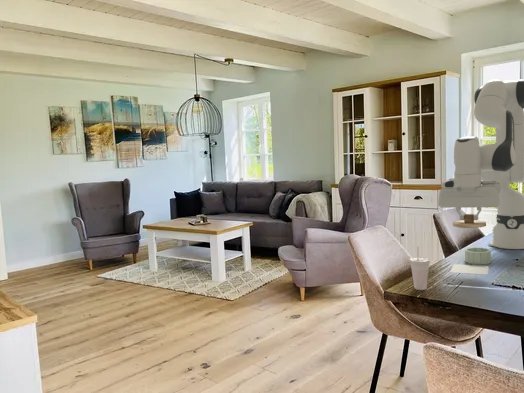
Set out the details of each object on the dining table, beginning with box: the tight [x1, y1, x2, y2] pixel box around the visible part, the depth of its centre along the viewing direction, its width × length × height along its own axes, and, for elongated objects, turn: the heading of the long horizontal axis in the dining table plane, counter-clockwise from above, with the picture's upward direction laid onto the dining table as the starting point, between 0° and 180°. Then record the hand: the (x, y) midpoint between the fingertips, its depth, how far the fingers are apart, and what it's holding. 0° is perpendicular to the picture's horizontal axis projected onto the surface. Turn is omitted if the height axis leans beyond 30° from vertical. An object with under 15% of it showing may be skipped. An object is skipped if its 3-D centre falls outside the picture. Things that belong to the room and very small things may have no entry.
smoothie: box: [409, 246, 431, 291], centre depth 146 cm, size 6×6×14 cm
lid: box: [452, 213, 487, 229], centre depth 162 cm, size 11×11×4 cm
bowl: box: [464, 246, 492, 265], centre depth 173 cm, size 9×9×5 cm
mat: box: [450, 263, 490, 276], centre depth 163 cm, size 12×12×1 cm
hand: (469, 219), depth 162 cm, fingers closed on lid, 3 cm apart
